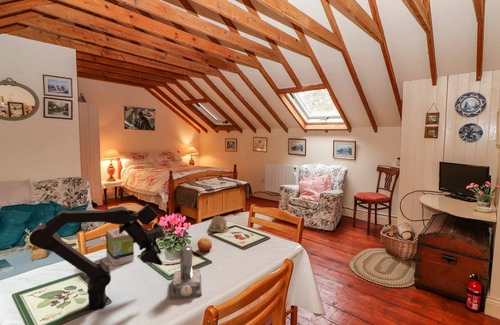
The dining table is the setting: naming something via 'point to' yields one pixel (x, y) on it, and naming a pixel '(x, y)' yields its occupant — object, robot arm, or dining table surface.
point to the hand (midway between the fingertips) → (161, 258)
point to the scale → (186, 290)
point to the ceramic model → (218, 224)
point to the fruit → (204, 244)
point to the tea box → (119, 247)
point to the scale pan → (194, 279)
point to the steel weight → (186, 262)
